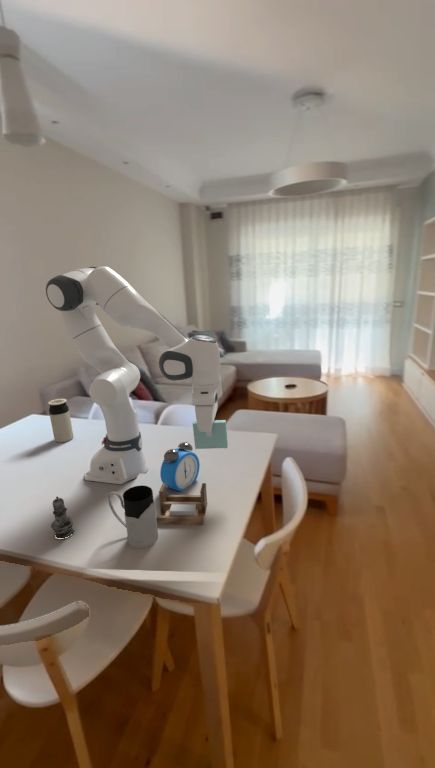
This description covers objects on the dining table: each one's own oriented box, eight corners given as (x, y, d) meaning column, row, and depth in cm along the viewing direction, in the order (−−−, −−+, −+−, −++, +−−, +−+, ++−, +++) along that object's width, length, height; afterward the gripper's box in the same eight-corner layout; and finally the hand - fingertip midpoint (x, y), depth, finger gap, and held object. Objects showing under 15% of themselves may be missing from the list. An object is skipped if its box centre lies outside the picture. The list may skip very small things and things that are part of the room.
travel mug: (69, 442, 166) (62, 403, 161) (51, 443, 166) (44, 404, 161) (76, 435, 173) (69, 397, 168) (59, 435, 174) (52, 398, 168)
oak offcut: (165, 520, 107) (164, 515, 106) (167, 513, 110) (167, 508, 109) (196, 521, 106) (196, 516, 105) (198, 514, 109) (197, 509, 109)
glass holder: (148, 557, 95) (142, 506, 91) (103, 544, 101) (95, 495, 97) (166, 535, 103) (161, 487, 99) (124, 524, 109) (117, 478, 104)
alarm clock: (175, 500, 119) (171, 456, 115) (161, 494, 123) (156, 452, 119) (201, 481, 129) (198, 440, 125) (187, 476, 133) (184, 437, 128)
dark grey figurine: (57, 528, 109) (49, 491, 105) (77, 525, 109) (71, 489, 106) (50, 541, 103) (42, 503, 100) (72, 539, 104) (64, 501, 100)
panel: (195, 448, 117) (192, 423, 115) (196, 446, 119) (193, 421, 116) (227, 448, 116) (225, 422, 113) (227, 445, 118) (225, 420, 115)
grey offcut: (169, 515, 106) (169, 510, 106) (172, 509, 109) (171, 504, 109) (194, 516, 106) (194, 511, 105) (196, 509, 109) (195, 504, 108)
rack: (157, 528, 106) (154, 501, 104) (165, 507, 116) (163, 482, 113) (203, 529, 105) (201, 502, 102) (207, 507, 114) (205, 482, 112)
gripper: (201, 380, 122) (204, 420, 126) (191, 401, 103) (194, 448, 107) (220, 380, 122) (222, 420, 126) (214, 401, 102) (216, 447, 106)
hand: (209, 433), depth 116 cm, fingers closed on panel, 2 cm apart
